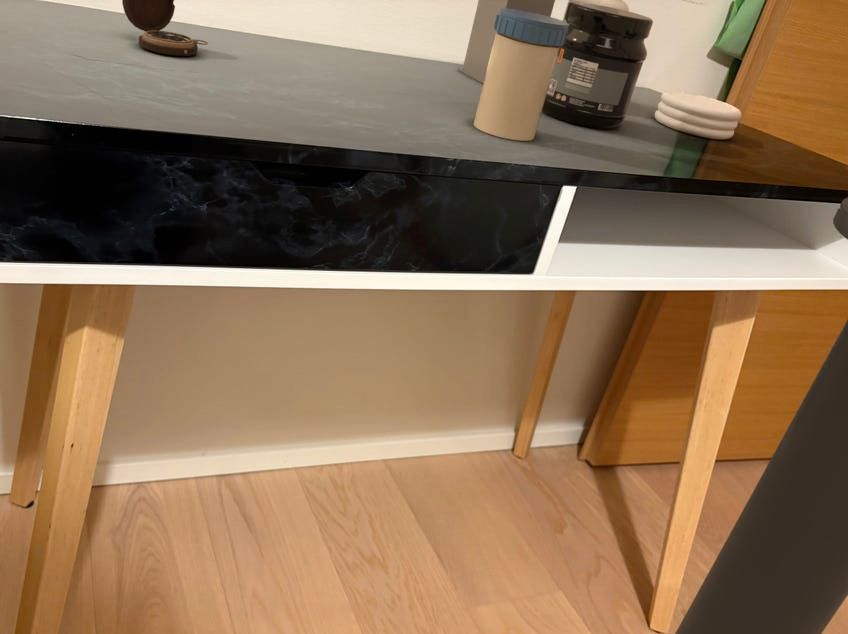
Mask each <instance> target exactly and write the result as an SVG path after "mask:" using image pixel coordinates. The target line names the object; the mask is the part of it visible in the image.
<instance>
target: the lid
mask: <svg viewBox="0 0 848 634" xmlns="http://www.w3.org/2000/svg"><path fill="white" fill-rule="evenodd" d="M494 28H495V31H497V32H498V33H500V34H503V35H506V36H509V37H512V38H516V39H520V40H524V41H528V42H532V43H538V44H543V45H550V46H563V45H564V44H565V41H566V37H567V34H568V28H569V24H568V23H567V22H564V21H563V19H558V18H556V17H548V16H544V15H540V14H536V13H532V12H527V11H521V10H515V9H508V8H501V9H499V14H497V17H496V21H495V25H494Z"/></svg>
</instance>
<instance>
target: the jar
mask: <svg viewBox="0 0 848 634" xmlns="http://www.w3.org/2000/svg"><path fill="white" fill-rule="evenodd" d="M559 50H560V46H550V45H543V44H538V43H532V42H528V41H524V40H520V39H516V38H512V37H509V36H506V35H503V34H500V33H498V32H496V34H495V38H494V42H493V47H492V51H491V55H490V59H489V63H488V67H487V71H486V75H485V79H484V83H482V87H481V91H480V95H479V100H478V103H477V108H476V111H475V115H474V120H473V126H474V128H476V129H477V130H479V131H481V132H483V133H485V134H488V135H490V136H494V137H498V138H501V139H506V140H511V141H519V142H524V141H525V142H527V141H534V139H535V136H536V133H537V129H538V127H539V123H540V121H541V115H542V112H543V110H542V109H543V106H544V102H545V99H546V95H547V92H548V88H549V85H550V81H551V78H552V74H553V71H554V68H555V64H556V61H557V57H558V54H559Z"/></svg>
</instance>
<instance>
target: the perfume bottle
mask: <svg viewBox="0 0 848 634" xmlns="http://www.w3.org/2000/svg"><path fill="white" fill-rule="evenodd" d="M555 2H556V0H478V1H477V5H476V10H475V14H474V19H473V23H472V26H471V27H472V28H471V31H470V36H469V40H468V44H467V49H466V52H465V58H464V61H463V66H462V69H461V73H462V74H464V75H466V76H468V77H470V78H472V79H473V80H475V81H477V82H479V83H481V84H483V83H484V79H485V75H486V71H487V67H488V63H489V59H490V55H491V51H492V47H493V42H494V38H495V34H496V32H497V31H495V28H494V25H495V21H496V17H497V14H499V9H501V8H508V9H515V10H521V11H527V12H532V13H536V14H540V15H544V16H548V17H551V16H552V13H553V9H554V7H555Z"/></svg>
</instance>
